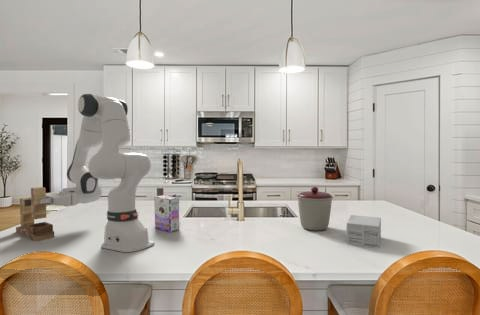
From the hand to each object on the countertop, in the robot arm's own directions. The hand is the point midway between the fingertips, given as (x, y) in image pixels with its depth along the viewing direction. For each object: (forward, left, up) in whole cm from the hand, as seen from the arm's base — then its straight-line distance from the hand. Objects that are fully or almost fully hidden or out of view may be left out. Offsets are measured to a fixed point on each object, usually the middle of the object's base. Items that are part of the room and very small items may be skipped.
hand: (36, 201), depth 144 cm
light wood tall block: (0, -1, -8) cm, 8 cm away
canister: (-96, -91, -17) cm, 134 cm away
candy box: (-37, -45, -17) cm, 61 cm away
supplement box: (-122, -85, -17) cm, 150 cm away
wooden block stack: (+6, -1, -17) cm, 18 cm away
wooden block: (-19, -59, -17) cm, 65 cm away
